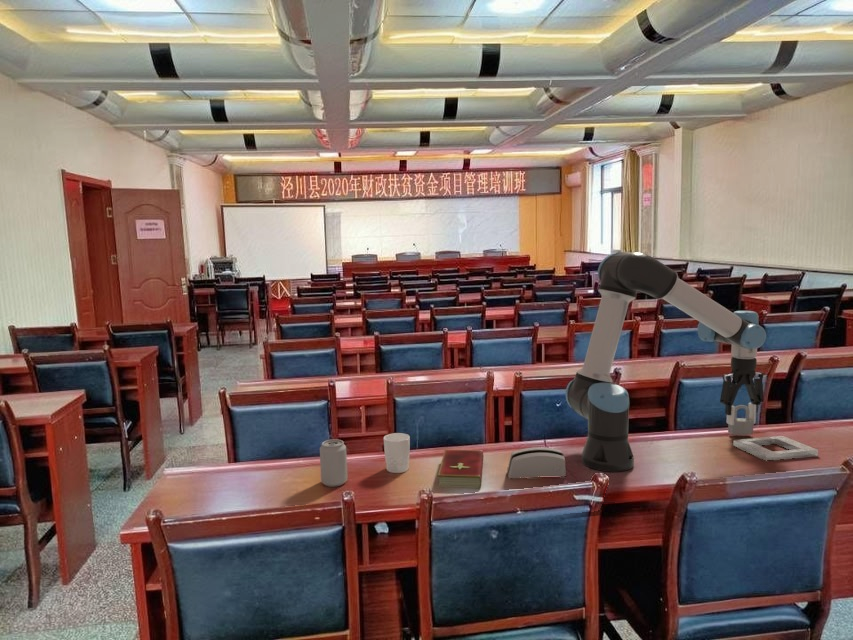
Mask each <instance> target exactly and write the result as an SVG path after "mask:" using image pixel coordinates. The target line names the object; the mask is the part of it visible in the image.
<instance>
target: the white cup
mask: <svg viewBox="0 0 853 640" xmlns="http://www.w3.org/2000/svg"><path fill="white" fill-rule="evenodd" d="M410 437H411V436H410V435H409V434H407V433H402V432H394V433H389V434H386V435H384V436H383V449H384V457H385V460H384V461H385V466H386V471H387V472H389V473H392V474H401V473H405V472H407V471H408V470H409V465H410V464H409V463H410V452H411V451H410V450H411V449H410V446H411V445H410V442H411V441H410V440H411V439H410Z"/></svg>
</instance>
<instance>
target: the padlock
mask: <svg viewBox="0 0 853 640" xmlns="http://www.w3.org/2000/svg"><path fill="white" fill-rule="evenodd" d="M740 409H744V410H745V418H744V417H741V418H740V417H738V410H740ZM749 414H750V411H749V408H748V406H747V405H743V404H739V405H736V406H735V412H734V425H730V424H728V426H727V432H728V433H729V434H730V435H732V436H748V435H751V436H753V435H754V421H753V420H751V419H749Z"/></svg>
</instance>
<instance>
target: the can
mask: <svg viewBox="0 0 853 640" xmlns="http://www.w3.org/2000/svg"><path fill="white" fill-rule="evenodd" d="M347 456H348V455H347V446H346V445H345V444H344V441H343V440H341V439H336V438H335V439H334V438H333V439H327V440H325V441H323V442H321V446H320V447H319V460H320V462H319V463H320V482H321V483H322V484H323V485H324V486H326V487H329V488H330V487H331V488H335V487H340V486H343V485H344V484H345V483H346V482H347V481H348V462H347V461H348V460H347Z"/></svg>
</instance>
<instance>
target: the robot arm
mask: <svg viewBox="0 0 853 640" xmlns="http://www.w3.org/2000/svg"><path fill="white" fill-rule="evenodd" d="M597 277H598V279H599V282H600V283H599V287H598V292H599V294H600V295H601V298H600V302H599V306H598V309H597V314H596V318H595V321H594V323H593V328H592V332H591V335H590V340H589V343H588V346H587V350H586V355H585V357H584V362H583V366H582V368H580V369H578V370H576V372H575V375H574V378H573V379H571V380H570V382H569V383H568V384H567V386H566V388H565V393H564V394H565V400H566V402H567V404H568V406H569V408H571V409H572V410H573V412H575V413H576V414H578V415H579V416H581V417H583V418H584V419H585V420H587V438H586V441H585V444H584V447H583V449H582V452H581V462H582V464H583V465H585V466H586V467H587V468H588V467H589V468H590V469H593V470H597V471H603V472H610V473H611V472H623V471H624V472H625V471H628V470H631V469H632V468H634V467H635V457H634V453H633V451H632V448H631V444H630V441H629V419H630V418H629V416H630V415H629V414H630V413H629V411H630V397H629V392H628V390H627V389H625V387H623V386H621V385H618V384H614V383H613V382H614V381H613V379H612V377H611V376H610V374H611V370H612V367H613V363H614V361H615V360H614V359H615V355H616V352H617V348H618V344H619V342H620V337H621V335H622V330H623V326H624V323H625V318H626V316H627V311H628V309H629V304H630V303H631V302H632V301H634V300H635V299H636V297H637V294H638V292H639V293H643V294H646V295H649V296H650V297H652V298H654V299H656V300H664V301H665V302H667V303H669V304H670V305H672V306H674V307H675V308H677V309H679V310H680V311H682V312H683V313H685V314H686V315H688V316H690V317H691V318H693V319H695V320H696V321H697V322H699V323H698V325H697V334H698V335H697V336H698V337H699V339H700V340H701V341H703V342H710V343H712V342H719V343H723V344H727V345H731V348H730V349H731V351H730V352H731V353H730V355H731V358H730V368H731V372H730V373H729V374H725V373H724V374H723V375H722V380H723V381H722V386H721V393H720V397H719V403H720V404H723V405H725V407H724V408H725V409H724V413H725V415H726V424H730V425H734V412H735V407H736V406H735V405H733V404H734V402H735V400H736V397H737V396H738V393H739V390H740V388H741V387H742V386H745V387H746V390H747V394H748V397H749V400H750V402H748V406H747V407H748V408H749V411H750V414H749V419H751V420H753V421H754V424H756V423H757V422H756V420H757V413H758V410H759V406H760V405H761V404H762V403H763V402H764V401H765V398H764V386H763V379H764V374H763V373H761V372H758V371H755V370H756V369H757V362H758V361H757V358H756V357H758V349H759V348H760V347H762V346H763V345H764V343H765V342H766V339H767V332H766V330H765V329H764V327H763V326H761V325H760V324H759V321H760V320H759V314H758V312H756V311H753V310H736V311H733V312H732V311H730V310H729V309H728V308H726V307H725V306H723V305H721V304H720V303H719V302H717V301H715V300H713V298H710V297H709V296H707V295H706V294H705V293H702V292H701V291H700V290H698V289H697V288H695V287H693V286H691V285H690V284H689V283H687V282H686V281H684V280H682V279H680V277H679V275H678V272H676V271H675V270H673V269H672V268H670V267H669V266H667V265H666V264H665V263H664V262H661V261H659V260H657V258H655V257H653V256H652V255H649V254H647V253H644V252H629V251H628V252H625V251H620V252H615V253H614V252H613V253H611V254H608V255H607V256H605V257H604V258H603V259H602V260H601V262H600V263H599V266H598V268H597Z"/></svg>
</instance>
